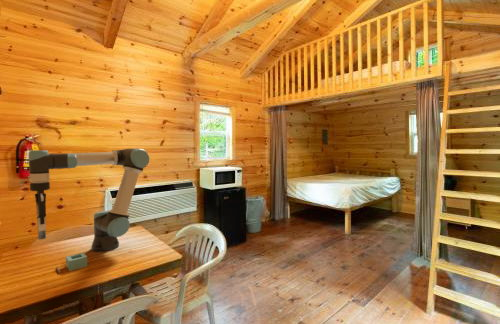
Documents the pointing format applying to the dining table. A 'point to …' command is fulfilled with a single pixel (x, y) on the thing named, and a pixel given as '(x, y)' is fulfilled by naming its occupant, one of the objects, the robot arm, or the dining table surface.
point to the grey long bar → (40, 233)
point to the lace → (58, 270)
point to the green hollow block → (76, 261)
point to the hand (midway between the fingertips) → (41, 229)
